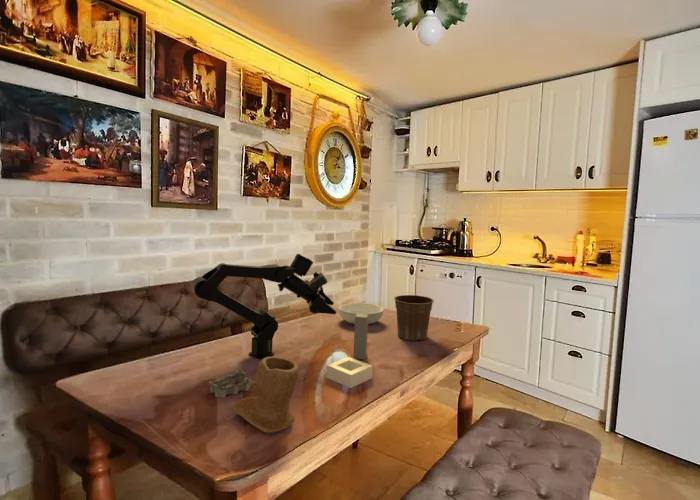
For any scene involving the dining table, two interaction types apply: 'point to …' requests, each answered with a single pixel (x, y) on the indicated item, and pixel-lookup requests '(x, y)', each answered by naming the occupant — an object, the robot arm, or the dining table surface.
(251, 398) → the tan boot
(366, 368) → the collar
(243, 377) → the egg carton
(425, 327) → the plant pot
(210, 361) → the dining table surface
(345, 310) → the serving bowl
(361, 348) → the post
